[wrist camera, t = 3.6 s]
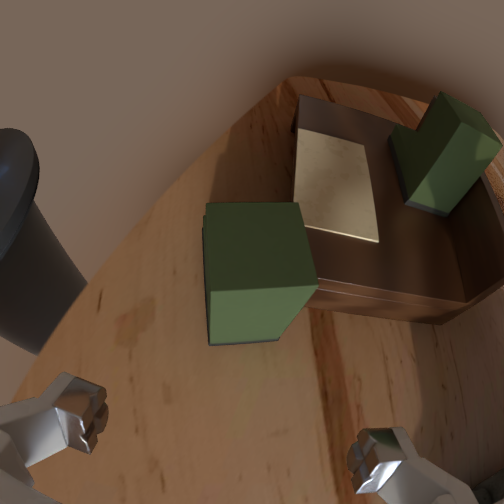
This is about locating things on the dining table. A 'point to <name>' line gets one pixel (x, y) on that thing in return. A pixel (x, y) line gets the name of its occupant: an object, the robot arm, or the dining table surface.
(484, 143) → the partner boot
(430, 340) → the dining table surface
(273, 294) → the boot
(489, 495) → the stuffed elephant
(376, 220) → the shoe shelf
